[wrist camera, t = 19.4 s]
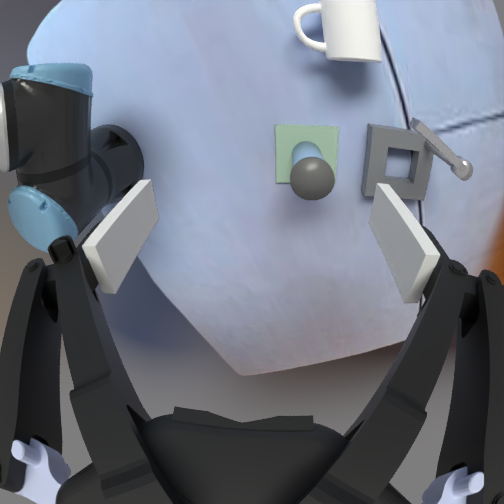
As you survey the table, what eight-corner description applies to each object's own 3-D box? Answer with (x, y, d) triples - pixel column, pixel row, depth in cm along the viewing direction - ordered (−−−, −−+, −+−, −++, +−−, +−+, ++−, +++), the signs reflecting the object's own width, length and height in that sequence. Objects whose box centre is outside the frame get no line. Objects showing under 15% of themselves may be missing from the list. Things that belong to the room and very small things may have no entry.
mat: (276, 181, 46) (276, 182, 46) (275, 124, 40) (275, 125, 40) (334, 183, 45) (334, 183, 45) (338, 126, 39) (338, 127, 39)
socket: (361, 189, 45) (381, 225, 36) (368, 123, 38) (395, 143, 28) (418, 194, 44) (447, 229, 34) (429, 133, 37) (466, 156, 27)
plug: (288, 171, 44) (290, 200, 36) (287, 138, 41) (289, 159, 33) (323, 171, 44) (333, 200, 35) (324, 138, 40) (336, 159, 32)
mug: (366, 7, 26) (383, -3, 19) (372, 63, 32) (390, 62, 25) (288, 4, 27) (290, -10, 21) (295, 60, 33) (299, 57, 27)
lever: (468, 163, 28) (475, 169, 26) (458, 178, 29) (465, 184, 28) (416, 112, 25) (423, 115, 24) (405, 129, 27) (411, 133, 25)
